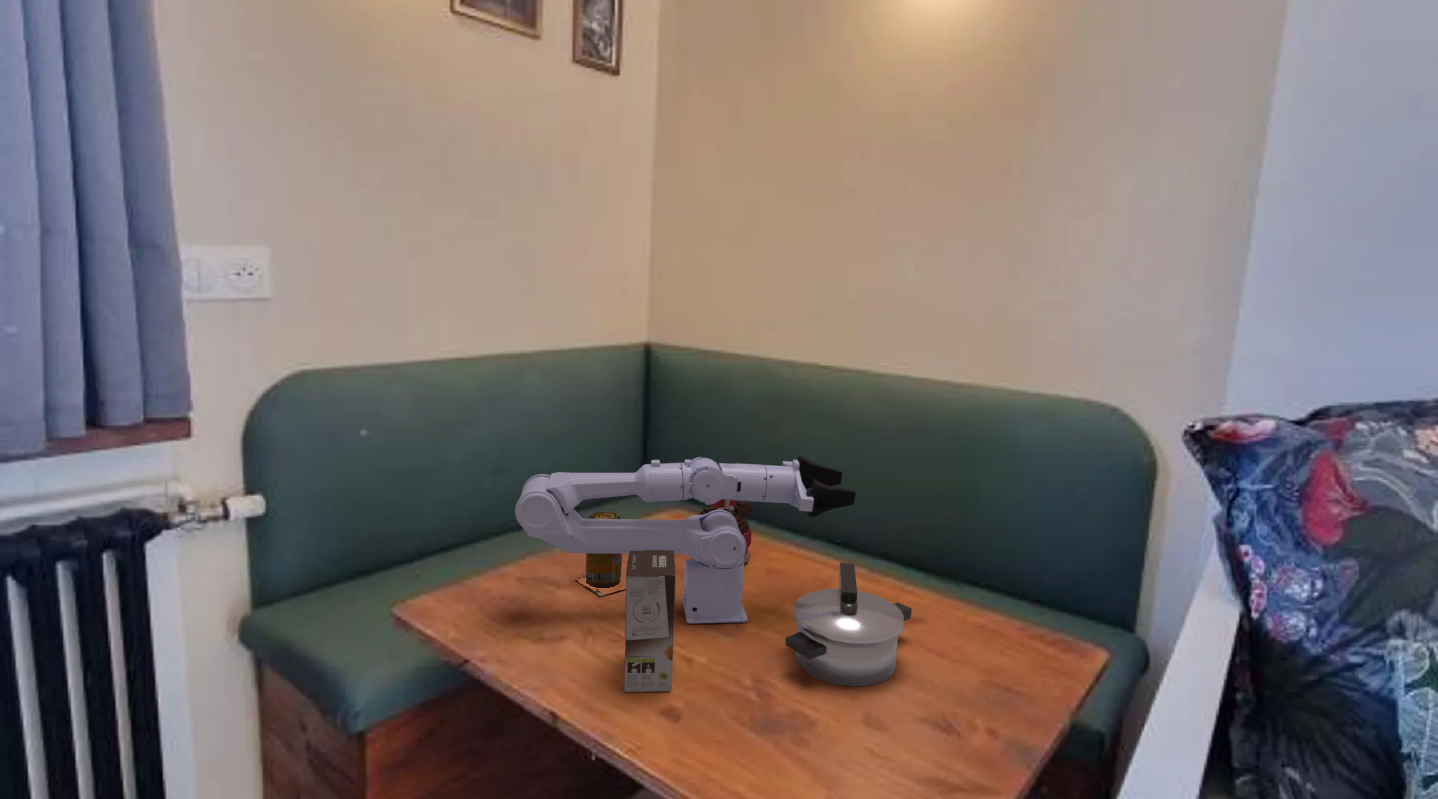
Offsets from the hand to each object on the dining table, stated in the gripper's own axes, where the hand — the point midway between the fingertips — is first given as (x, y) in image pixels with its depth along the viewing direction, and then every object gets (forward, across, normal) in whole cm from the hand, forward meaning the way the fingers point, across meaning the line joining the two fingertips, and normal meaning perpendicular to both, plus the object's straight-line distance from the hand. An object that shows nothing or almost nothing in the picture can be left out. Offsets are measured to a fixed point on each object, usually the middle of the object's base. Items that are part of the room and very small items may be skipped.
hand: (847, 487), depth 124 cm
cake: (-15, +19, +24) cm, 34 cm away
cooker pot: (-1, -18, +19) cm, 26 cm away
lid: (-2, -16, +13) cm, 20 cm away
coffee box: (-30, -21, +20) cm, 42 cm away
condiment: (-37, +9, +24) cm, 45 cm away
